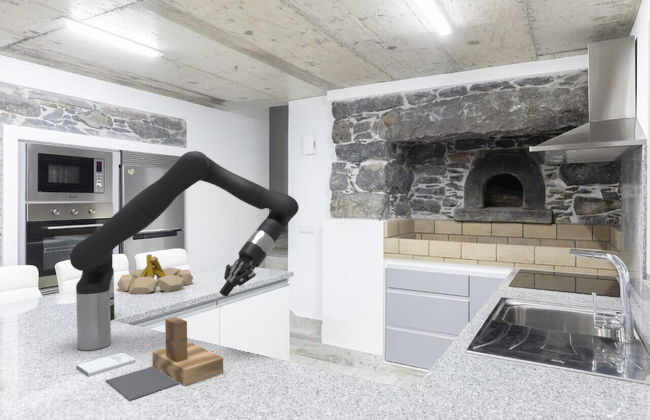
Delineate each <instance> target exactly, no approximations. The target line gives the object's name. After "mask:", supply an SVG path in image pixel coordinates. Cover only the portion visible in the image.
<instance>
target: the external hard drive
mask: <svg viewBox="0 0 650 420" xmlns="http://www.w3.org/2000/svg"><path fill="white" fill-rule="evenodd" d="M135 363H136V358H134V357H133V356H131V355H128V354H126V353H124V352H120V353H117V354H112V355H109V356H105V357H102V358H97V359H95V360H89V361H88V362H87V361H86V362H83V363H81V364H80V363H79V364H77V365H76V366H75V368H76V370H77V371H79V372H81V373H82V374H84V376H86V377H93V376H96V375H99V374H102V373H105V372H109V371H113V370H116V369H119V368H123V367H126V366H128V364H129V365H131V364H135ZM125 365H126V366H125ZM112 369H113V370H112Z"/></svg>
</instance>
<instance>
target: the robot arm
mask: <svg viewBox="0 0 650 420" xmlns="http://www.w3.org/2000/svg"><path fill="white" fill-rule="evenodd" d="M199 181H200V182H201V181H202V182H205V183H208V184H211V185H213V186H216V187H218V188H220V189H222V190H223V191H225V192H227V193H229V194H230V195H232V196H233V197H235V198H236V199H238V200H240V202H241V201H242V202H244V203H245V204H248V205H249V206H252V207H254V208H256V209H259V210H265V209H268V210H271V211H270V212H269V214H268V215H267V217H266V218H265V219H264V220H263V221H262V222H261V224H260V225H259V226H258V227H257V229H256V230H255V231H254V232H253V233H252V234H251V236H249V238H248V239H247V241H246V242H245V243H244V245H243V246H242V247H241V248H240V250H239V251H238V259H236V260H235V261H234V263H233V264H229V263H228V264H227V265H226V266H225V272H224V277H223V279H224V280H225V281H226V282H225V283H224V284H223V286H222V287H221V289H220V290H219V293H220V295H221V296H223V297H225V298H226V297H228V296H229V295H230V294H231V292H232V291H233V289H234V288H236V287H242V285H244V284H245V283H247V282H249V281H250V280H251V279H253V278H255V277H256V275H257V274H256V272H255V269H256V268H258V267H260V266H261V264H262V263H263V262H264V261H265V259H266V257H267V256H268V254H269V253H270V252H271V250H272V248H274V247H273V246H274V245H275V243H276V242H277V240H278V239H279V238H280V236H281V235H282V233H283V230H284V229H285V228H286V226H288V224H289V223H290V222H291V220H292V219H293V218H294V217H295V216H296V214H298V211H299V203H298V201H297V200H296V199H295V198H294V197H292V195H289V194H286V193H283V192H279V191H276V190H271V189H268V188H266V187H263V186H262V185H260V184H258V183H255V182H253V181H252V180H250V179H247V178H244V177H242V176H240V175H238V174H236V173H234V172H232V171H230V170H228V169H226V168H225V167H224V166H221V165H219V164H218V163H216V162H215V161H214V160H212V159H211V158H210V157H209V156H207V155H206V154H205V153H203V152H201V151H198V150H193V151H191V150H190V151H188V152H185V153H184V154H181V156H180V157H179V158H178V160H176V162H175V163H174V164H173V165H172V166H171V167H170V168H169V169H168V170H167V171H166V172H165V173H164V174H163V175H162V176H161V177H160V178H158V179H157V180H156V181H154V182H152V184H150V185H148V186H147V187H145V188H144V189H143V190H142V191H140V192H139V193H137V194H136V195H135V196H134V197H132V199H130V200H128V202H127V203H126V204H125V205H123V207H122V208H121V209H119V210H117V212H115V214H114V215H113V216H111V217H110V218H109V219H108V220H107V221H106V222H105V223H104V224H103V225H102V226H100V227H99V228H98V229H97V230H96V231H94V232H93V233H91V234H90V235H88V236H87V237H85V238H84V239H83V240H82V241H80V242H78V243H77V244H76V245H75V246H73V248H72V250H71V252H70V255H69V261H70V264H71V266H72V267H73V268H74V269H76V270H77V271H80V272H81V271H82V272H81V276H80V279H79V280H78V282H76V286H75V292H76V293H75V294H76V295H75V297H76V298H75V300H76V301H75V302H76V328H77V329H76V335H77V336H76V337H77V338H76V339H77V343H76V344H77V349H78V350H80V351H95V350H101V349H103V348H106V347H108V346H110V345H111V343H112V338H111V337H112V333H111V331H112V329H111V326H112V325H111V324H112V323H111V321H112V320H111V321H110V282H111V280H112V267H113V264H114V263H113V250H114V249H115V248H116V247H118V246H119V245H120V244H121V243H123V242H126V241H127V240H129V239H130V238H132V237H134V236H135V235H137V234H138V233H140V232H142V231H143V230H145V229H147V228H148V227H149V226H150V225H151V224H152V223H153V222H154V221H156V220H157V219H158V218H159V217H160V216H161V215H162V214H163V213H165V211H166V210H167V209H168V207H170V206H171V205H172V204H173V201H175V200H176V199H177V197H178V196H180V195H181V194H182V193H183V192H185V191H187V189H189V188H190V187H192V186H193V185H195V184H196V183H199Z"/></svg>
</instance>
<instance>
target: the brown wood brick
mask: <svg viewBox="0 0 650 420" xmlns="http://www.w3.org/2000/svg"><path fill="white" fill-rule="evenodd" d="M164 324H165V330H164V331H165V348H166V357H168V358H170V359H172V360H173V361H175V362H180V361H183V360H186V359H187V342H188V321H187V320H184V319H182V318H179V317H177V316H175V317H168V318H165V322H164Z"/></svg>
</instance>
